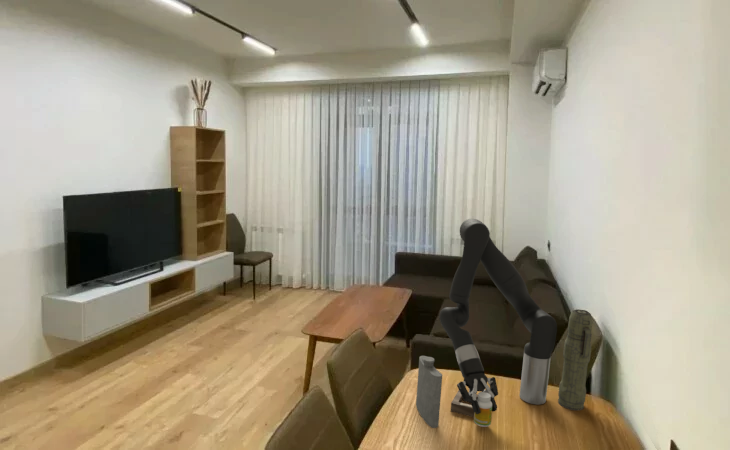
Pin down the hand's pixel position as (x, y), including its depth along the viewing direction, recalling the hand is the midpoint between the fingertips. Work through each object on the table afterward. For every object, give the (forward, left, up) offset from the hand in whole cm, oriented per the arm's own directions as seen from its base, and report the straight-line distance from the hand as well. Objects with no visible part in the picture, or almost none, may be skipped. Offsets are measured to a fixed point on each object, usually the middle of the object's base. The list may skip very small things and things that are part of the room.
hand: (486, 411), depth 149 cm
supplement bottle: (-1, -1, -5) cm, 5 cm away
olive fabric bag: (-33, +25, -6) cm, 42 cm away
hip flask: (+1, -20, -6) cm, 21 cm away
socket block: (-11, -7, -6) cm, 15 cm away
